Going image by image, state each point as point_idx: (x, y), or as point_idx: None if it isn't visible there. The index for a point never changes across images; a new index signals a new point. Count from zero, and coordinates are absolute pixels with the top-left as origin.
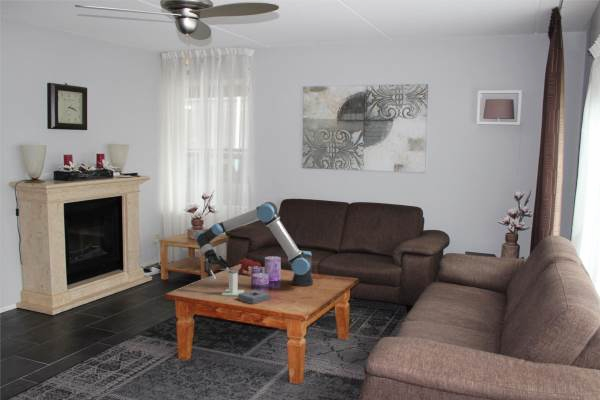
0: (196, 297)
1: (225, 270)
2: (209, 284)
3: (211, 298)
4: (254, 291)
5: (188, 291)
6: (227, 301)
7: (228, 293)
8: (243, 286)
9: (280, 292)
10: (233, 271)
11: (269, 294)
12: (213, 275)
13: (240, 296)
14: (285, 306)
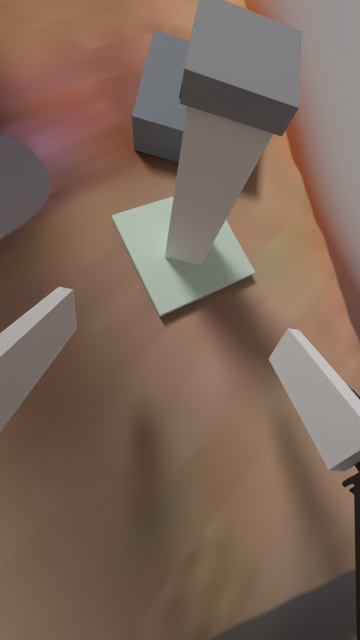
0: (353, 358)
1: (9, 418)
2: (101, 544)
3: (313, 286)
4: (164, 103)
5: (321, 497)
6: (292, 201)
7: (222, 250)
8: (4, 292)
9: (10, 66)
10: (272, 35)
11: (158, 33)
12: (322, 358)
13: None
14: (191, 5)
